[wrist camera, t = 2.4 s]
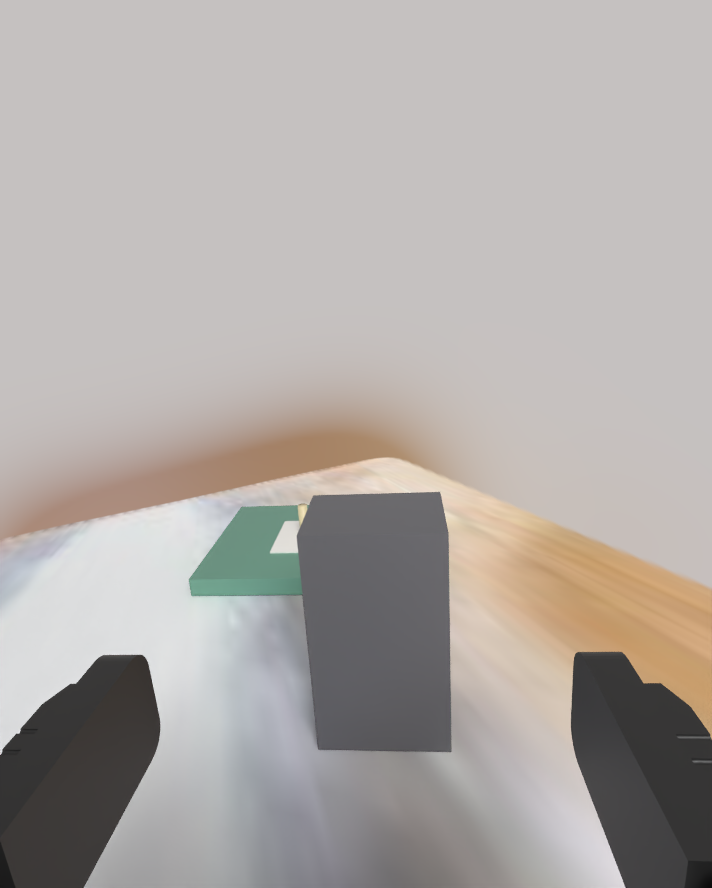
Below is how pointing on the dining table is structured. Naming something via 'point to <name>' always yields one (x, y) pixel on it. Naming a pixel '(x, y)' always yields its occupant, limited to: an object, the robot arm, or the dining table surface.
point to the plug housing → (378, 620)
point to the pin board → (254, 555)
